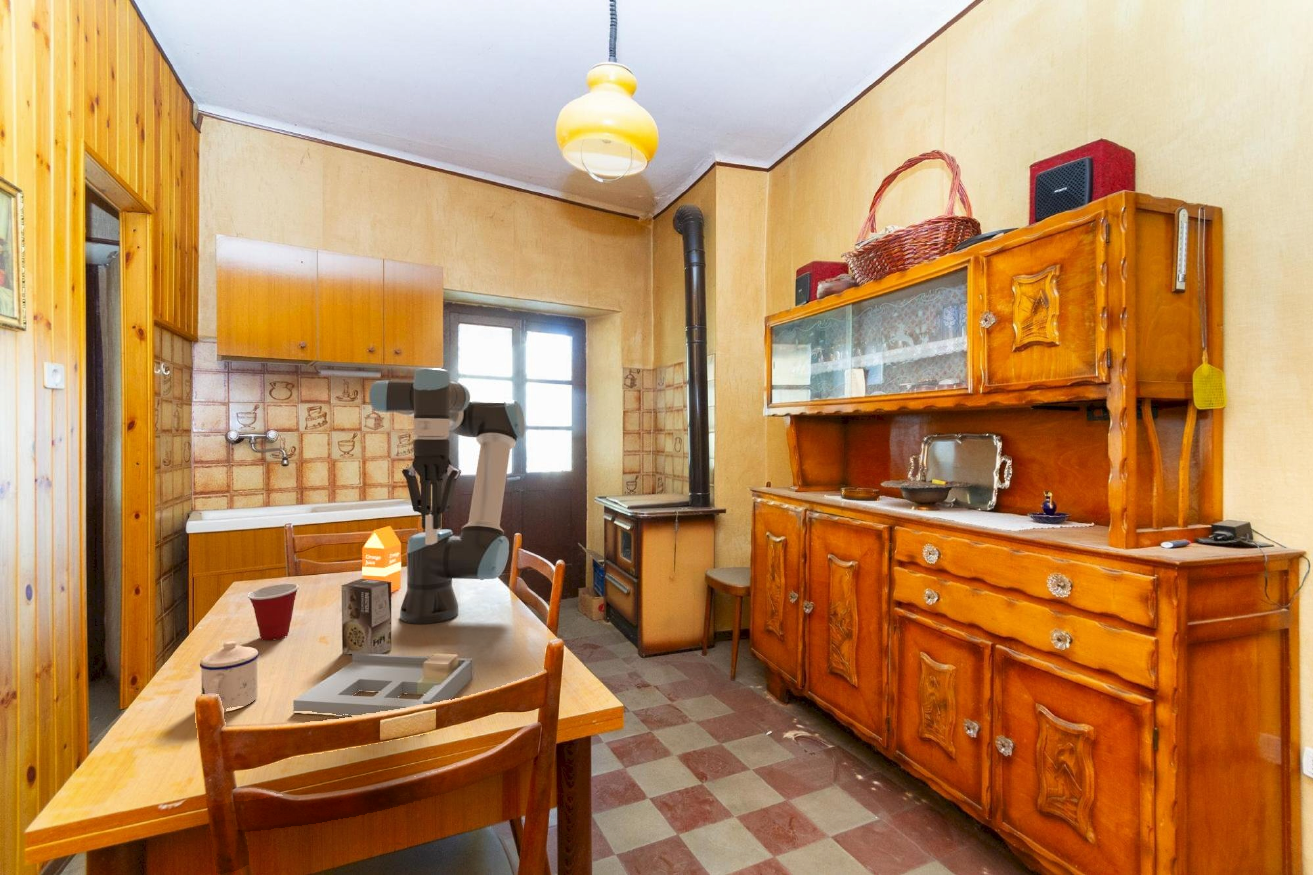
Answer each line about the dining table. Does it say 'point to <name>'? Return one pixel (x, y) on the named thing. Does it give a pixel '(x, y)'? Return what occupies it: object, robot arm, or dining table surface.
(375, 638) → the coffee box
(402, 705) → the grey compartment tray
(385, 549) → the orange juice
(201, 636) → the dining table surface
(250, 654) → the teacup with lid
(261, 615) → the plastic cup
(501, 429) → the robot arm
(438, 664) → the block
